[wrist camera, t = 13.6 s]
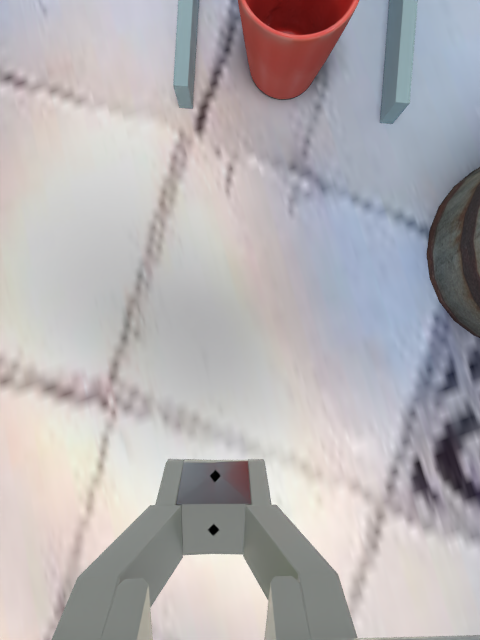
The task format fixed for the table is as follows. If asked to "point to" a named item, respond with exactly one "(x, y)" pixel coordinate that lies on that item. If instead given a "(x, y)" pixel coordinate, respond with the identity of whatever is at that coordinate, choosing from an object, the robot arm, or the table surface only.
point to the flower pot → (291, 40)
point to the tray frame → (394, 67)
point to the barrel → (458, 253)
